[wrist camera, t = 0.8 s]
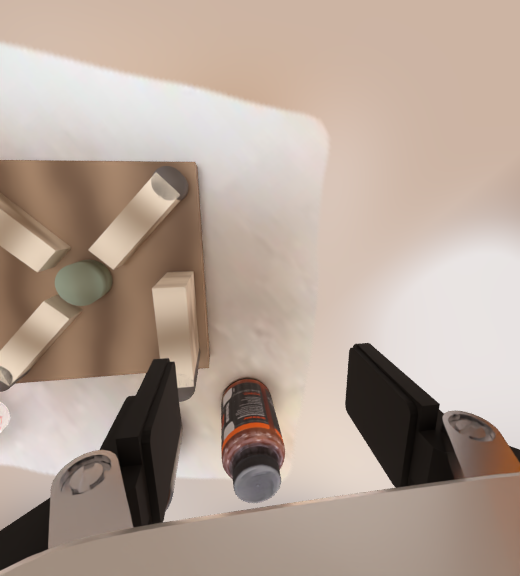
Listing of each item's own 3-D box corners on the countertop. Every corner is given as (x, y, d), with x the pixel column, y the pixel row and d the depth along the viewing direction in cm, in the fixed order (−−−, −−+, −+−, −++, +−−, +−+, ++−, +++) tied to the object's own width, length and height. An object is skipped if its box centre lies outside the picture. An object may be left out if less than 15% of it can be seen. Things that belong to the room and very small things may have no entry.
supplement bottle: (212, 391, 33) (207, 477, 22) (257, 368, 33) (274, 443, 22) (235, 427, 35) (241, 524, 24) (278, 405, 35) (304, 492, 24)
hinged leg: (201, 363, 29) (196, 400, 23) (175, 365, 29) (163, 403, 23) (194, 271, 26) (186, 286, 21) (166, 272, 26) (150, 288, 20)
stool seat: (16, 370, 29) (-23, 400, 25) (-39, 165, 24) (-101, 152, 19) (209, 356, 32) (207, 380, 27) (197, 166, 27) (192, 156, 22)
